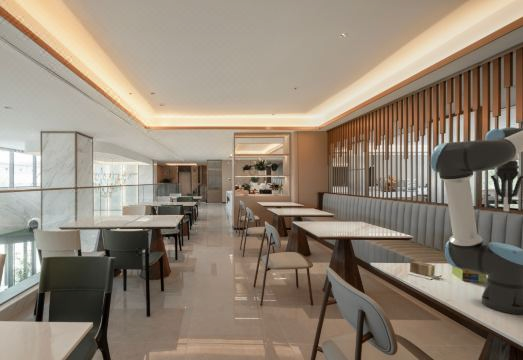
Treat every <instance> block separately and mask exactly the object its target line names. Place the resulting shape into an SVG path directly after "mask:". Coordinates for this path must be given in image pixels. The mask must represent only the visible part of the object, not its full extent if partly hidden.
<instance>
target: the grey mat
mask: <svg viewBox="0 0 523 360" xmlns="http://www.w3.org/2000/svg"><path fill="white" fill-rule="evenodd" d="M407 275H409V276H415V277H418V278H422V279H426V280H434V279H436V278H439V277H441V276H442V274H437V273H435V275H434V276H431V277H429V276H424V275H420V274H416V273H412V272H408V273H407Z"/></svg>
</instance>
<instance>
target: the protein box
mask: <svg viewBox="0 0 523 360" xmlns="http://www.w3.org/2000/svg"><path fill="white" fill-rule="evenodd" d="M451 273H452V274H453V275H455V276H456V277H457V278H458V279H459V280H460V281H462V282H469V283H470V282H473V283H484V284H487V275H486V274H481V273H477V272H473V271H468V270H462V269H459V268H456V267H453V266H452V265H451Z"/></svg>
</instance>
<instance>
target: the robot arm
mask: <svg viewBox="0 0 523 360" xmlns="http://www.w3.org/2000/svg"><path fill="white" fill-rule="evenodd" d="M522 152H523V127H511V126H510V127H502V128H494V129H491V130H489V131H487V133H486V135H485V139H482V140H478V139H477V140H467V141H465V140H464V141H449V142H445V143H444V142H443V143H440V144H438V145H436V146H435V147H434V149H433V151H432V153H431V156H430V166H431V169H432V170H433V172H435V173H438V175H439V178H440V179H439V180H442V181H443V182H444V185H445V193H446V199H447V206H448V212H449V218H450V225H451V226H450V227H451V231H452V232H451V233H452V236H450V237H449V240H448V241H447V242H446V243H445V249H444V255H445V258H446V261H447V263H448V264H449V265H450V266H451V267H452V266H453V267H456V268H459V269H462V270H468V271H473V272H477V273H481V274H486V276H487V282H486V286H485V287H484V290H483V292H482V295H481V304H482V305H484V306H485V307H487V308H488V309H489V308H490V309H493V310H495V311H499V312H503V313H507V314H511V315H523V249H522V248H520V247H518V246H515V245H512V244H508V243H503V242H498V241H497V242H496V241H495V242H494V241H491V242H488V243H487V244H484V241H483V237H482V236H481V235H479V234H478V230H477V223H476V218H475V217H476V215H475V209H474V203H473V195H472V187H471V182H470V181H471V180H470V179H471V178H472V177H473V176H474V173H477V172H485V171H489V170H493V169H495V168H497V170H496V173H494V174H493V175H490V178H491V180H492V182H493V184H494V185H493V186H494V189H495V193H496V195H497V196H498V197H500V199H501V201H500V204H503V211H504V212H510V205H512V204H513V198H514V197H517V196H518V193H519V190H520V188H521V184H522V182H523V175H522V174H520V172H519V171H518V168H519V165H518V164H519V162H518V160H519V154H520V153H522ZM498 178H499V179H500V180H501V181H500V182H501V183H500V184H501V187H500V184H499V180H498ZM516 178H517V180H516V182H515V185H514V180H515V179H516ZM513 185H514V187H513Z"/></svg>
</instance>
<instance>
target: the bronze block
mask: <svg viewBox="0 0 523 360" xmlns="http://www.w3.org/2000/svg"><path fill="white" fill-rule="evenodd" d="M409 265H410V266H409V273H411V272H412V273H416V274H420V275H424V276H429V277H431V276H434V275H435V274H436V273H435V272H436V267H435V266H436V265H435V264H431V263H425V262H421V261H416V260H413V261H410V264H409Z"/></svg>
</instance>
